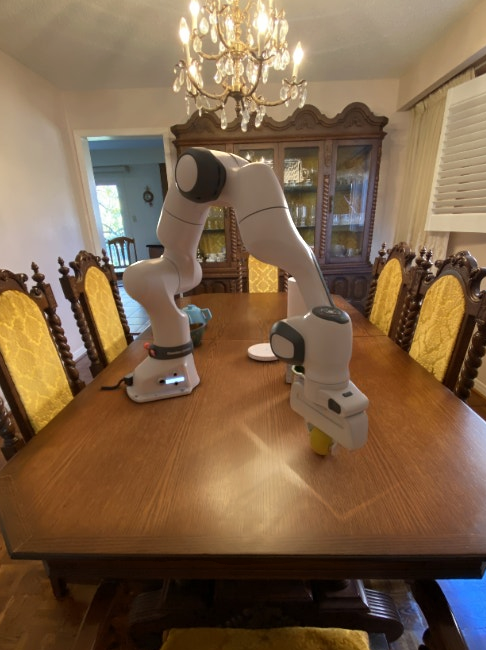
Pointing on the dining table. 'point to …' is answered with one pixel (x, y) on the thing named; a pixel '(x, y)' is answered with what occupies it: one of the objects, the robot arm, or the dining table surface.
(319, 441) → the lemon
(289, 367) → the medicine box
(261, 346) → the plastic lid
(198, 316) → the teapot
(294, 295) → the canister
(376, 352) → the dining table surface
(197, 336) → the dark green pot
